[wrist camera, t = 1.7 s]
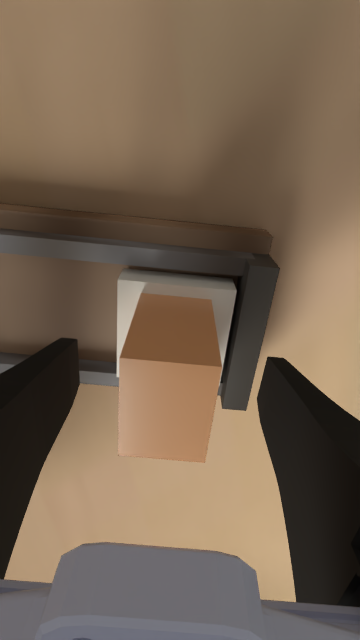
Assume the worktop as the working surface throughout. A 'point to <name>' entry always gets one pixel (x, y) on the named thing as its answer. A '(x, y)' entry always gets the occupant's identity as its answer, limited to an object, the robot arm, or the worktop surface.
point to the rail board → (102, 277)
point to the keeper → (170, 361)
